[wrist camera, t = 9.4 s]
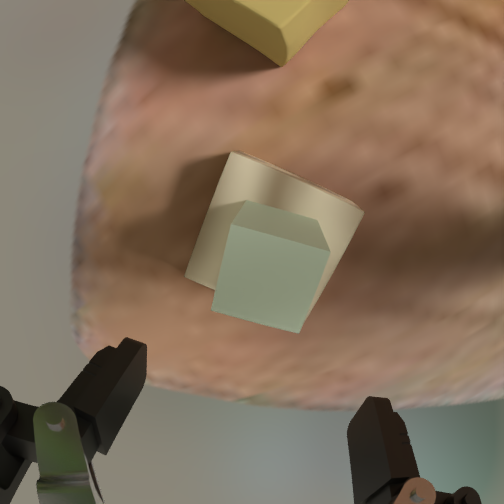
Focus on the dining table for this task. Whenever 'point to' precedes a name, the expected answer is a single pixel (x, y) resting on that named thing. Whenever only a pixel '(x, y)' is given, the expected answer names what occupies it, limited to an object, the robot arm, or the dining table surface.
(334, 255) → the birch box
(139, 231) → the dining table surface
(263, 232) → the block
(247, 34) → the cheese
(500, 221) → the dining table surface
